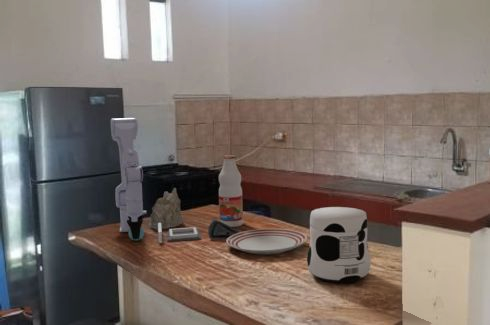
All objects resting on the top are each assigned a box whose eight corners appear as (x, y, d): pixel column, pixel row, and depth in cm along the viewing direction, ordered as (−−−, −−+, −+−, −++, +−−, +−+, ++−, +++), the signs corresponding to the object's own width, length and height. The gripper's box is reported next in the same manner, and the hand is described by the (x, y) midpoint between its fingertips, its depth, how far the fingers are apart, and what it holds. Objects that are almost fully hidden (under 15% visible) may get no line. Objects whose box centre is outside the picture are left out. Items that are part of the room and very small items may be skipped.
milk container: (326, 262, 149) (326, 203, 147) (380, 273, 138) (381, 210, 136) (295, 278, 136) (294, 215, 134) (352, 292, 125) (352, 223, 123)
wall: (158, 233, 188) (157, 222, 187) (161, 232, 188) (161, 222, 188) (158, 243, 174) (158, 232, 174) (162, 242, 174) (161, 232, 174)
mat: (166, 233, 187) (166, 228, 187) (198, 230, 190) (197, 226, 189) (167, 241, 176) (167, 236, 176) (201, 239, 178) (200, 234, 178)
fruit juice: (247, 223, 200) (245, 154, 196) (236, 228, 192) (234, 157, 188) (227, 221, 204) (224, 154, 201) (215, 226, 196) (213, 156, 193)
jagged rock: (167, 216, 214) (164, 183, 211) (190, 224, 202) (187, 189, 200) (136, 226, 204) (133, 191, 201) (158, 234, 192) (155, 197, 189)
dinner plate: (211, 253, 161) (210, 243, 161) (249, 233, 185) (249, 224, 185) (288, 264, 148) (288, 253, 148) (318, 240, 172) (318, 231, 172)
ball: (129, 238, 181) (128, 224, 180) (144, 237, 182) (143, 223, 181) (128, 243, 176) (127, 228, 175) (144, 241, 177) (143, 226, 176)
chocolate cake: (244, 235, 184) (221, 212, 186) (243, 234, 177) (220, 211, 179) (226, 253, 183) (203, 230, 185) (224, 253, 176) (201, 229, 178)
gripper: (145, 203, 171) (147, 241, 172) (146, 195, 185) (147, 230, 186) (124, 204, 169) (126, 242, 171) (126, 196, 183) (128, 232, 185)
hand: (136, 236), depth 179 cm, fingers closed on ball, 5 cm apart
